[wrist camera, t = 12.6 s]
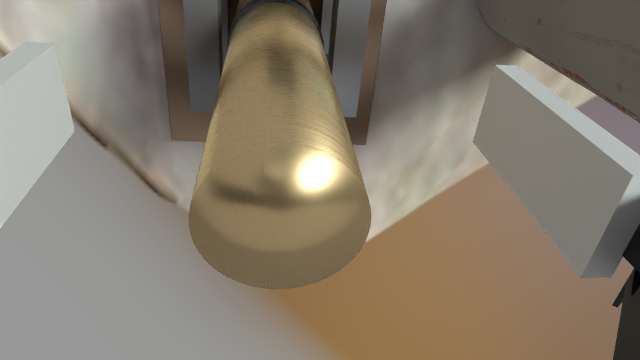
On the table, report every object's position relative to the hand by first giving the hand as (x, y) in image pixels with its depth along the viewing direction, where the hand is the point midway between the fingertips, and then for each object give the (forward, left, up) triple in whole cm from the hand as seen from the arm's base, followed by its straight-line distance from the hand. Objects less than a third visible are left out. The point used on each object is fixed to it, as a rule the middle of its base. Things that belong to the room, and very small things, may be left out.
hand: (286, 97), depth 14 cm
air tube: (0, 0, -17) cm, 17 cm away
